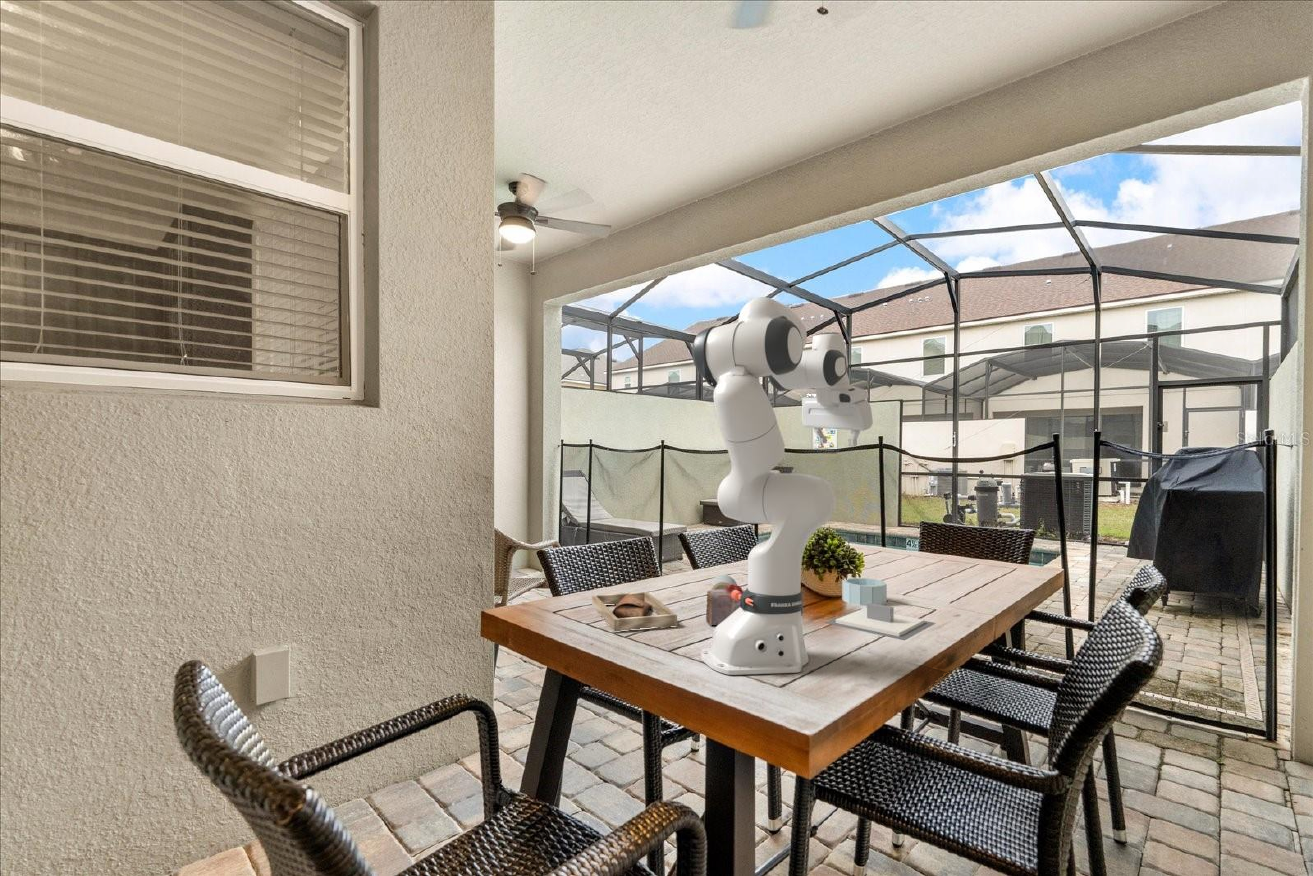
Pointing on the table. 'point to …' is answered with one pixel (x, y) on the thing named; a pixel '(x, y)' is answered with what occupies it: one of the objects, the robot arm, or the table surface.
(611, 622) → the case frame
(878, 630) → the cream board with block
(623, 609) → the sunglasses case
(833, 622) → the mat
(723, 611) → the food item
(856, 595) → the bowl
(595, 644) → the table surface
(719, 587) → the ceramic mug
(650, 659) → the table surface
